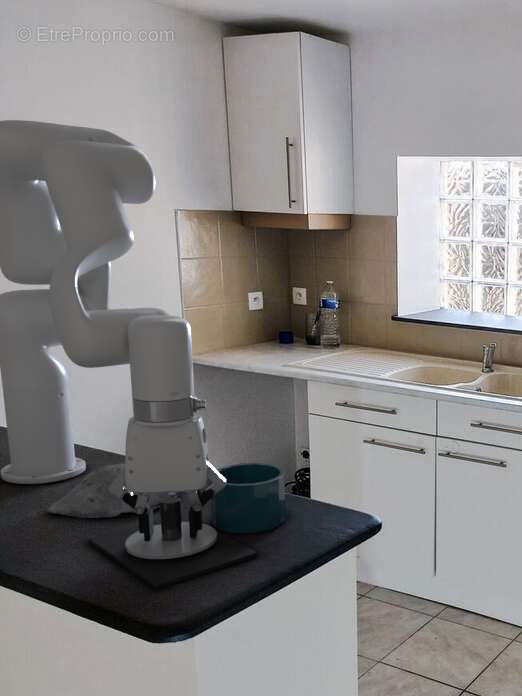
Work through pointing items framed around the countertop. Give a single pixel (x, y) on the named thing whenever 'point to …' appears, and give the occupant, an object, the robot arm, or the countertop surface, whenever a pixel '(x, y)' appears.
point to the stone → (100, 496)
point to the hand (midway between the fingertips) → (171, 534)
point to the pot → (249, 498)
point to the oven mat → (174, 568)
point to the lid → (170, 536)
